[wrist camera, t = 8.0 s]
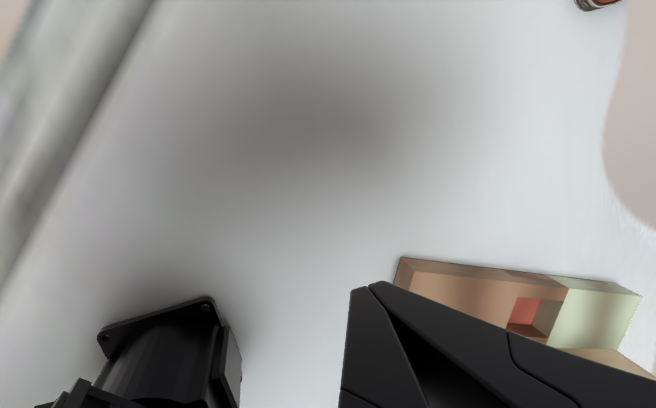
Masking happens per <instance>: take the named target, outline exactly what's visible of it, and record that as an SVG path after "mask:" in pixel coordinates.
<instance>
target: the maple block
mask: <svg viewBox="0 0 656 408" xmlns="http://www.w3.org/2000/svg"><path fill="white" fill-rule="evenodd" d="M557 349H559V350H562V351H565V352H568V353H571V354H574V355H577V356H580V357H583V358H586V359H589V360H592V361H595V362H599V363H602V364H605V365H608V366H611V367H614V368H618V369H621V370H624V371H627V372H630V373H633V374H636V375H640V376H643V377H646V378H649V379H652V380H655V381H656V377H655V376H653V375H652V374H650V373H649V372H647V371H646V370H645V369H643V368H642V367H640V366H639V365H637V364H636V363H634V362H633V361H631V360H630V359H628V358H627V357H625V356H624V355H622V354H621V353H619V352H618V351H616V350H615V349H580V348H557Z"/></svg>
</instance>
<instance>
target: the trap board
mask: <svg viewBox="0 0 656 408" xmlns="http://www.w3.org/2000/svg"><path fill="white" fill-rule="evenodd" d="M393 285H396V286H398V287H401V288H403V289H406V290H409V291H411V292H414V293H416V294H419V295H421V296H424V297H426V298H429V299H431V300H434V301H436V302H439V303H441V304H444V305H446V306H449V307H451V308H454V309H456V310H459V311H461V312H464V313H466V314H469V315H471V316H474V317H476V318H479V319H482V320H484V321H487V322H489V323H492V324H494V325H497V326H499V327H502V328H504V329H506V330H507V333H508V331H512V332H515V333H517V334H520V335H522V336H525V337H527V338H530V339H532V340H535V341H538V342H540V343H543V344H546V345H548V346H551V347H554V348H580V349H615V350H616V351H617V349H618V347H619V345H620V343H621V341H622V339H623V337H624V334H625V332H626V330H627V328H628V326H629V324H630V322H631V320H632V318H633V316H634V313H635V311H636V309H637V307H638V305H639V303H640V301H641V299H642V297H643V296H641V295H639V294H636V293H634V292H632V291H630V290H628V289H626V288H624V287H622V286H620V285H618V284H616V283H610V282H601V281H593V280H585V279H576V278H568V277H560V276H552V275H543V274H535V273H527V272H518V271H510V270H502V269H493V268H485V267H477V266H468V265H460V264H452V263H444V262H435V261H427V260H419V259H410V258H402V257H401V259H400V263H399V266H398V270H397V273H396V277H395V280H394V284H393Z"/></svg>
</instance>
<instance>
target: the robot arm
mask: <svg viewBox="0 0 656 408" xmlns="http://www.w3.org/2000/svg"><path fill="white" fill-rule="evenodd" d="M204 304H207V305H209V307H208V308H204V307H202V305H204ZM106 334H108V335H111V338H109V337H106V336H105V335H106ZM97 341H98V343H99V345H100V346H101V348H102V350H103V352H104V354H105V356H106V358H107V359H108V361H107V363H106V364H105V366H104V368H103V370H102V371H101V373H100V375H99V377H98V378H97V380H96V382H95V384H94V385H93V386H91V383H92V382H89V381H87V380H84V379H81V378H78V380H77V381H76V382H75V384H74V385H73V387H72V388H71V389H70V391H69V392H65V391H63V393H62V394H61V395H60V397H59V398H58V399H56V401H55V402H51V403H46V404H42V405H38V406H35V407H34V408H239V403H240V383H241V381H242V372H241V361H242V358H241V355H240V352H239V350H238V347H237V344H236V342H235V339H234V337H233V334H232V331H231V329H230V327H228V326H227V325H223V322H222V320H221V317H220V315H219V312H218V309H217V307H216V304H215V302H214V300H213V299H212V298H210V297H203V298H199V299H196V300H193V301H189V302H186V303H183V304H179V305H176V306H173V307H170V308H166V309H163V310H160V311H156V312H153V313H150V314H146V315H143V316H140V317H136V318H133V319H130V320H127V321H123V322H120V323H117V324H113V325H110V326H107V327H104V328H103V329H102V330H101V331H100V333H99V334H98V336H97ZM340 390H341V391H340V395H339V404H338V408H656V381H655V380H652V379H649V378H646V377H643V376H640V375H636V374H633V373H630V372H627V371H624V370H621V369H618V368H614V367H611V366H608V365H605V364H602V363H599V362H595V361H592V360H589V359H586V358H583V357H580V356H577V355H574V354H571V353H568V352H565V351H562V350H559V349H557V348H554V347H551V346H548V345H546V344H543V343H540V342H538V341H535V340H532V339H530V338H527V337H525V336H522V335H520V334H517V333H515V332H512V331H508V333H507V330H506V329H504V328H502V327H499V326H497V325H494V324H492V323H489V322H487V321H484V320H482V319H479V318H476V317H474V316H471V315H469V314H466V313H464V312H461V311H459V310H456V309H454V308H451V307H449V306H446V305H444V304H441V303H439V302H436V301H434V300H431V299H429V298H426V297H424V296H421V295H419V294H416V293H414V292H411V291H409V290H406V289H403V288H401V287H398V286H396V285H393V284H391V283H388V282H386V281H379V282H376V283H372V284H370V285H368V287H367V286H363V287H360V288H357V289H353V290H352V291H351V293H350V302H349V312H348V321H347V331H346V340H345V350H344V359H343V369H342V378H341V387H340Z"/></svg>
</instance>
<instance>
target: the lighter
mask: <svg viewBox="0 0 656 408" xmlns="http://www.w3.org/2000/svg"><path fill="white" fill-rule="evenodd" d="M622 1H625V0H574V2H575V4H576V5H577V6H578V8H579V9H581V10H583V11H592V10H596V9H600V8H603V7H606V6H609V5H613V4H616V3H619V2H622Z"/></svg>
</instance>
